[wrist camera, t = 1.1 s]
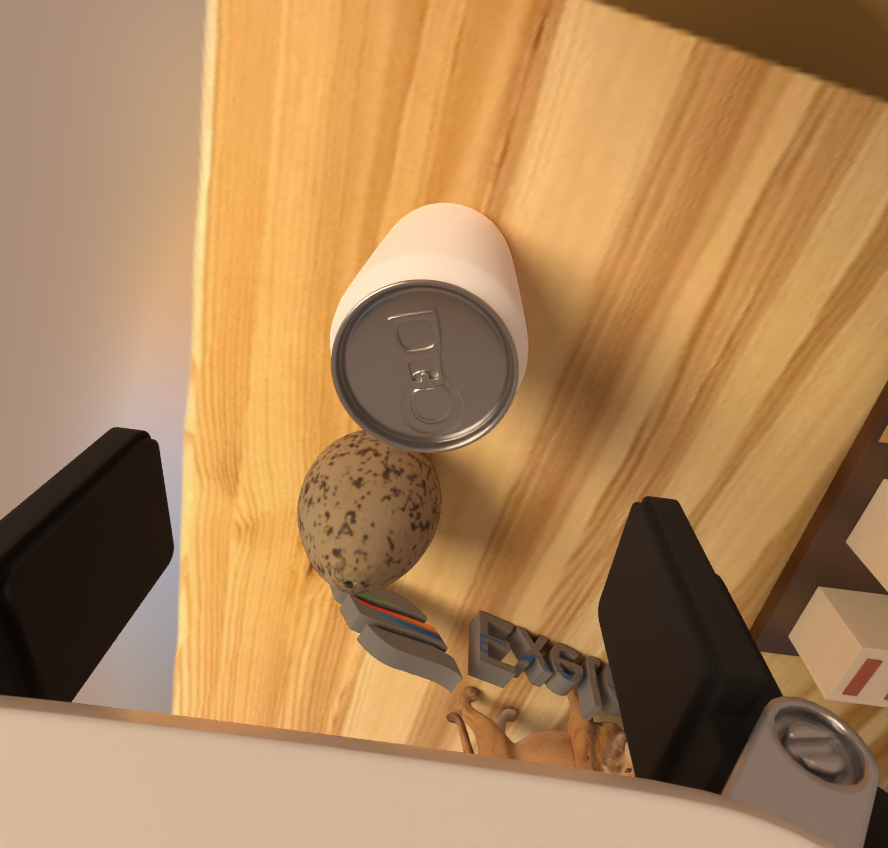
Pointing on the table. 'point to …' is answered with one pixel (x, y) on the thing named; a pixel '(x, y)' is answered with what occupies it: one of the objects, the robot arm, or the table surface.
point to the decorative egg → (367, 512)
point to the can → (431, 332)
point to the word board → (829, 538)
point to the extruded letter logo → (472, 651)
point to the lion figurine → (548, 739)
